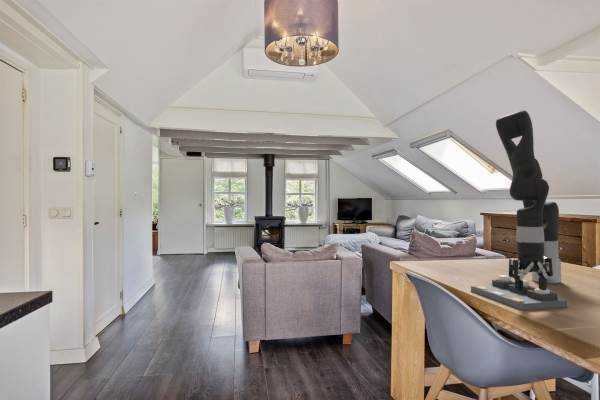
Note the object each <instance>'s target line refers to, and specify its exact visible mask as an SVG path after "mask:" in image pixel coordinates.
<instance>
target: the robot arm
mask: <svg viewBox="0 0 600 400" xmlns="http://www.w3.org/2000/svg"><path fill="white" fill-rule="evenodd" d="M495 126H496V127H495V128H496V131H497V134H498V136H499V139H500V141H501V143H502V146H503V147H504V151H505V152H506V155H507V158H508V161H509V164H510V167H511V170H512V179H511V183H510V185H509V186H510V187H509V195H510V197H511V198H512V199H513V200H515V201H518V202H519V201H521V202H522V205H523V207H521V208H519V209H517V210H516V231H515V233H516V234H515V237H516V238H515V241H516V243H515V244H516V246H515V247H516V254H517V256H518V257H517V259H516V258H515V259H514V258H509V260H508V276H509V277H511V279H514V282H515V289H516V290H517V291H519V292H523V280H524V278H525V276H526V275H527V276H528V273H531V279H532V281H533V282H537V283H538V288H539V289H541V290H546V289H548V284H552V285H553V284H559V283H562V260H561V259H560V258H559V257H560V256H559V219H560V211H559V210H560V209H559V205H558V204H557V203H556V202H555V201H546V200H547V198H548V195H549V190H550V185H549V183H548V181H547V180H545V179H544V178H543V172H542V169H541V166H540V163H539V161H538V159H537V158H536V156H535V153H534V152H535V150H534V146H535V145H534V129H533V122H532V119H531V116H530V114H529V112H528V111H526V110H518V111H516V112H512V113H509V114H506V115H503V116H500V117H499V118H497V119H496V121H495ZM516 138H520V140H519V142H518V144H516V143H515V142H514V141H513V139H516ZM544 225H546V226H545V228H544Z"/></svg>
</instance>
